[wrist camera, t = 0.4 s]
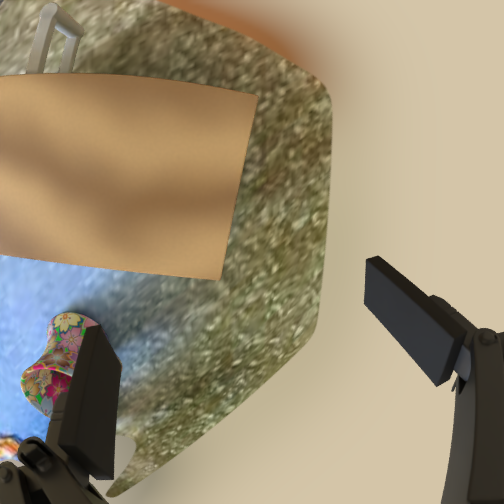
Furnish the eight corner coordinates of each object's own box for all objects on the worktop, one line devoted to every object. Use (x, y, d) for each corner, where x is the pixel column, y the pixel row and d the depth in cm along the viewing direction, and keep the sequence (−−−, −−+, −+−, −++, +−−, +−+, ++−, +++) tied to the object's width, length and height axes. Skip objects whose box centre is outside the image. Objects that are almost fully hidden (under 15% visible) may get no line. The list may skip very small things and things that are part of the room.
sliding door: (71, 33, 20) (31, 4, 11) (144, 35, 22) (129, -1, 13) (56, 97, 22) (8, 92, 14) (128, 101, 24) (105, 92, 16)
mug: (71, 369, 36) (55, 429, 26) (33, 316, 32) (4, 374, 22) (144, 348, 37) (142, 414, 27) (110, 289, 33) (92, 351, 23)
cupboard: (52, 87, 23) (-11, 77, 12) (228, 104, 28) (259, 95, 17) (40, 206, 27) (-16, 252, 16) (205, 224, 32) (220, 281, 21)
